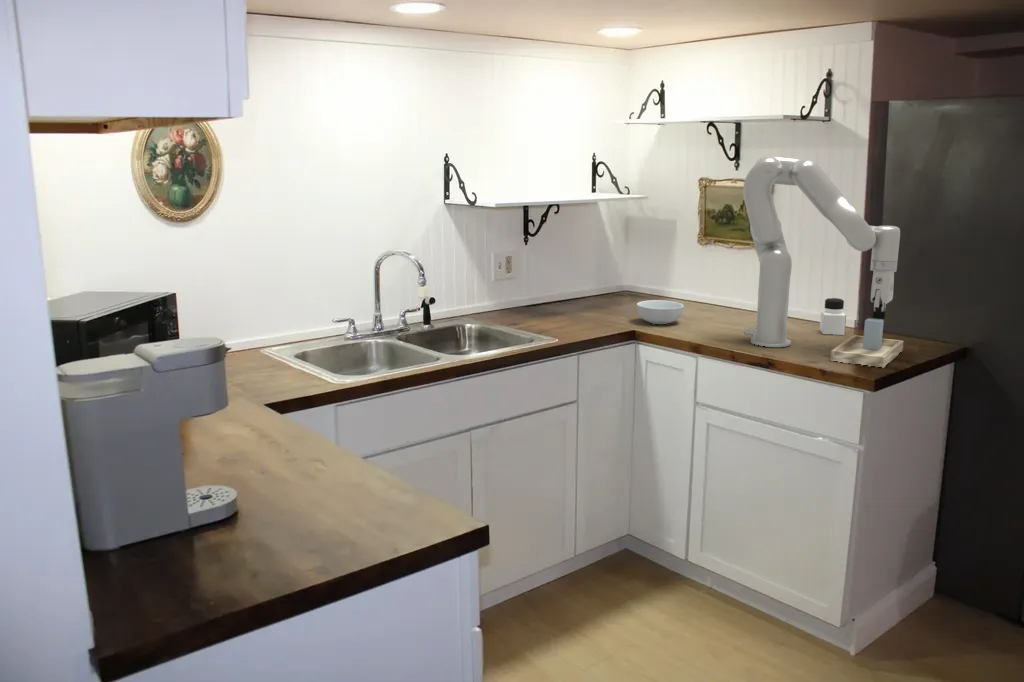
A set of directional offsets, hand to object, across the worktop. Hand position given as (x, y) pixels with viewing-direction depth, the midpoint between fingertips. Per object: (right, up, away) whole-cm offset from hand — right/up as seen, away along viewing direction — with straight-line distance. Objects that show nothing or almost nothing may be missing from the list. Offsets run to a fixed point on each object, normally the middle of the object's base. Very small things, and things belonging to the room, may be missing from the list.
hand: (878, 323), depth 264 cm
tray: (-7, -10, -8) cm, 14 cm away
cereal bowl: (-61, +1, +44) cm, 75 cm away
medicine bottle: (-5, -3, +25) cm, 26 cm away
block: (-3, -8, -3) cm, 9 cm away
